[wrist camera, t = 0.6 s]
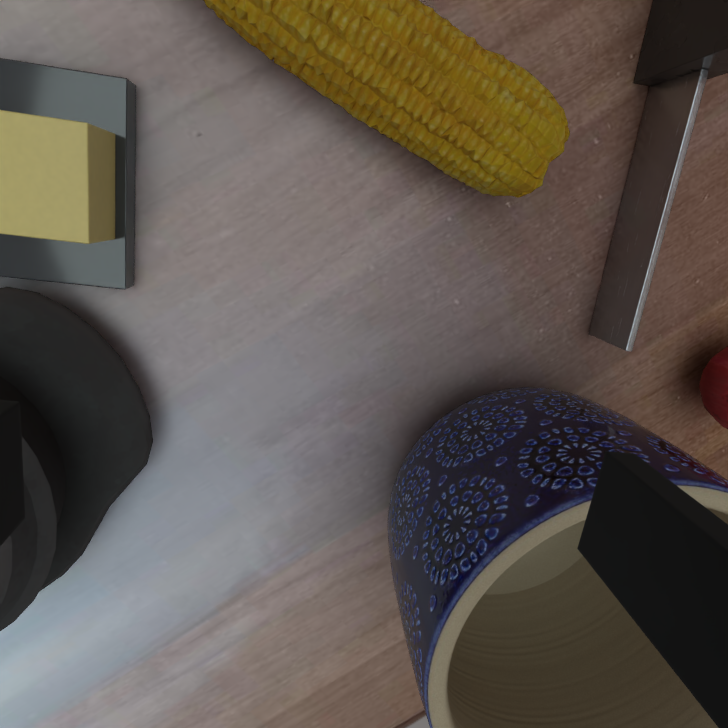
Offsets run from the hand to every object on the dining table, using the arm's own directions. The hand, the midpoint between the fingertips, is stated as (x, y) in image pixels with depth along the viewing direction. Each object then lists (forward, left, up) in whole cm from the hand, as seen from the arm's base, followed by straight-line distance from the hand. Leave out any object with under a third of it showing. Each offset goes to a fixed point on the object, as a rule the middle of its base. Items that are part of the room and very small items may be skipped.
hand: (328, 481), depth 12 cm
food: (-13, +1, -20) cm, 24 cm away
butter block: (-6, -13, -18) cm, 23 cm away
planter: (+10, +13, -20) cm, 26 cm away
